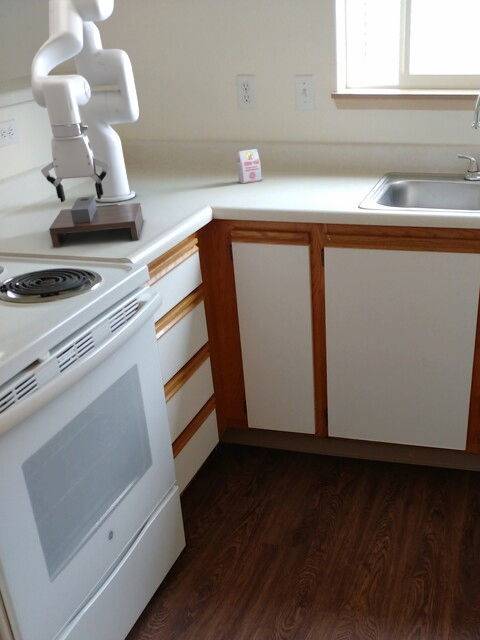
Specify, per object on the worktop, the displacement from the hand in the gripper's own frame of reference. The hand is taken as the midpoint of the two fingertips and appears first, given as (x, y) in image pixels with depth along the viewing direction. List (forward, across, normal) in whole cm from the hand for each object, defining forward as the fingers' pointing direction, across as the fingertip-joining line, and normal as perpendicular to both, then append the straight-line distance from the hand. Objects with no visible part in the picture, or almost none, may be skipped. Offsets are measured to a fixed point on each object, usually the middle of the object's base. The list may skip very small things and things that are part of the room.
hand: (81, 199), depth 202 cm
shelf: (+10, -3, 0) cm, 10 cm away
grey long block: (+4, 0, 0) cm, 5 cm away
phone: (+9, -2, -20) cm, 23 cm away
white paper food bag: (+9, -47, -50) cm, 70 cm away
